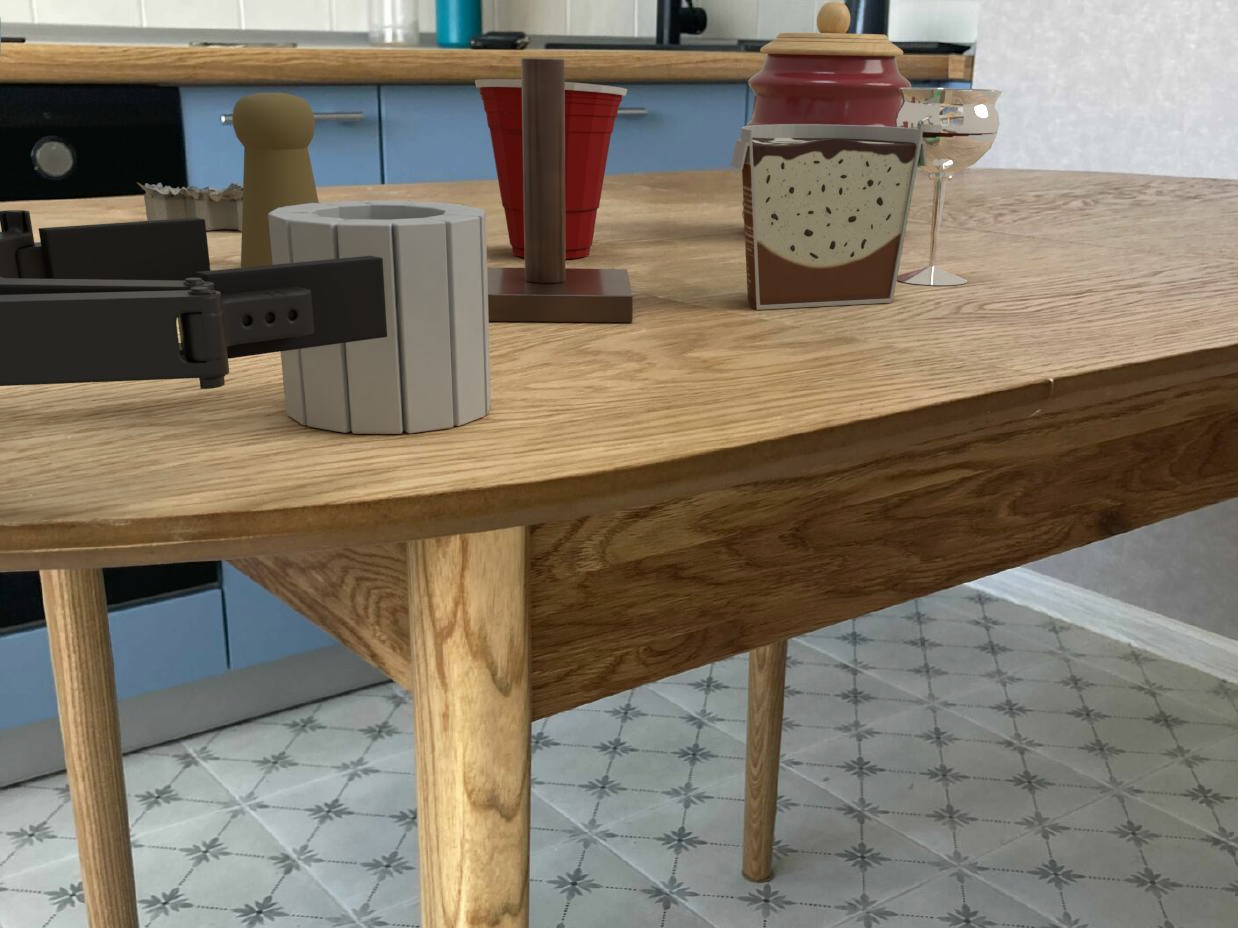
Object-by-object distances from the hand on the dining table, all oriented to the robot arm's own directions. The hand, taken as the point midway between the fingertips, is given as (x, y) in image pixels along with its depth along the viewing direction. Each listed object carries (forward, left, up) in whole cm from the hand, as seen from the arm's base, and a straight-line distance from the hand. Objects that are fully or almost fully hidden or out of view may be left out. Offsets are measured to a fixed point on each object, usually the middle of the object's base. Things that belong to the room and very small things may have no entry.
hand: (285, 272), depth 52 cm
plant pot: (+3, +3, -6) cm, 7 cm away
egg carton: (-19, +64, -6) cm, 67 cm away
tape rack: (+9, +28, -6) cm, 30 cm away
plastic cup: (+9, +50, -6) cm, 51 cm away
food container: (+25, +32, -6) cm, 41 cm away
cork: (-9, +42, -6) cm, 43 cm away
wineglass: (+35, +40, -6) cm, 54 cm away
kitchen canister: (+31, +63, -6) cm, 71 cm away
